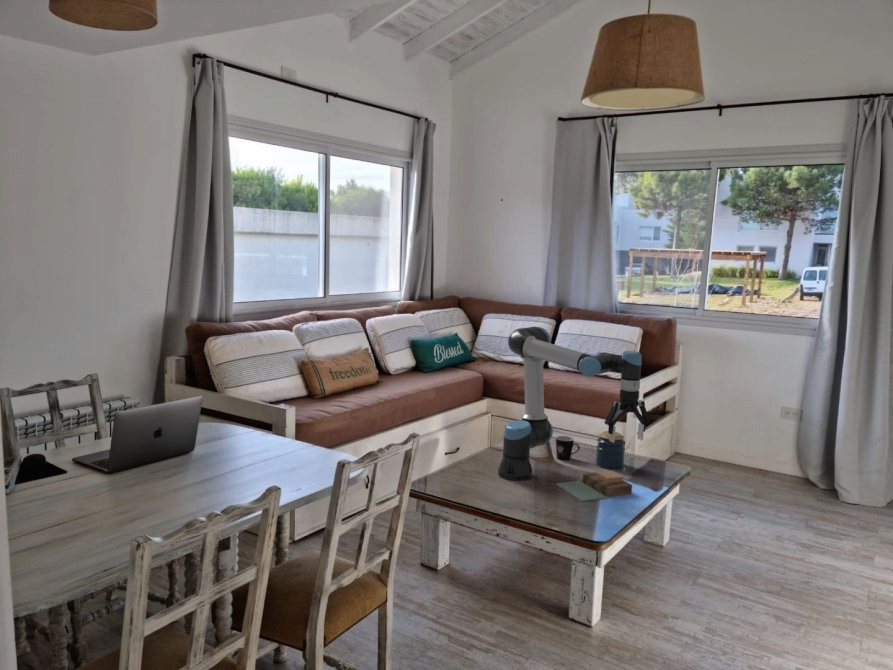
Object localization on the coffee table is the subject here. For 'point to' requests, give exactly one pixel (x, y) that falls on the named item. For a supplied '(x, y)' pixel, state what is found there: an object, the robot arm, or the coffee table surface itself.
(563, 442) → the coffee mug
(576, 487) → the sage mat
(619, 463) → the canister
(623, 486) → the block
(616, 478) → the terracotta tile
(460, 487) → the coffee table surface
